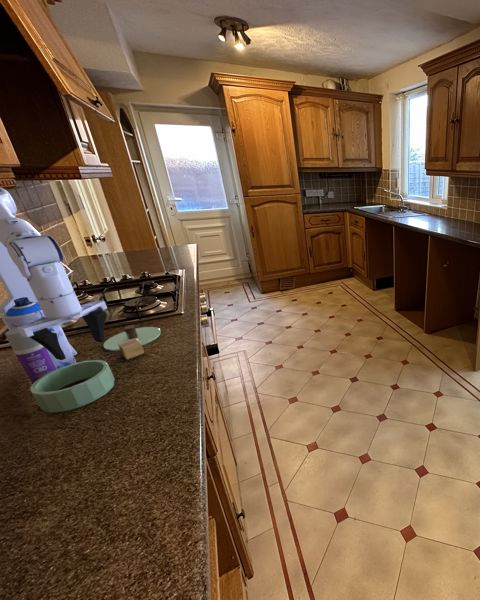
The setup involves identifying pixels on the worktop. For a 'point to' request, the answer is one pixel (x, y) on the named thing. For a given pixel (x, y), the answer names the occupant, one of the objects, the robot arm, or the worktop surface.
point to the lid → (132, 336)
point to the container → (31, 355)
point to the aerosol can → (30, 312)
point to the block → (131, 348)
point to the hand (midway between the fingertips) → (81, 349)
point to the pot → (77, 394)
